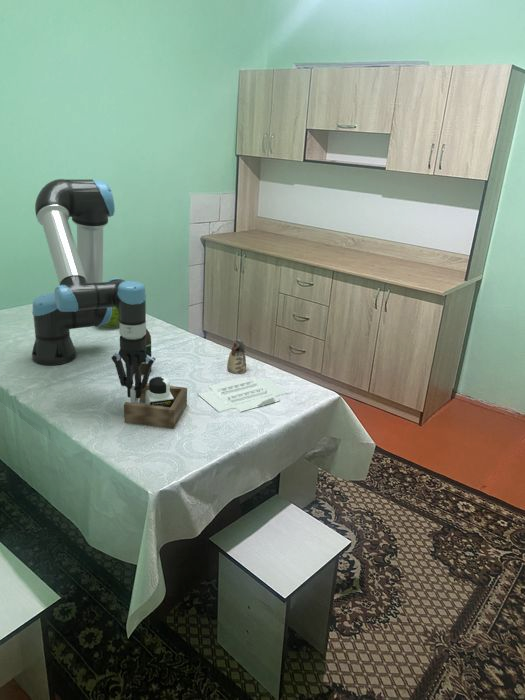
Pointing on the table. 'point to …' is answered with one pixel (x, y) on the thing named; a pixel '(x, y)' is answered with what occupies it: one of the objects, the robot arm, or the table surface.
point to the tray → (242, 394)
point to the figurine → (237, 358)
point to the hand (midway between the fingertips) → (134, 406)
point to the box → (157, 410)
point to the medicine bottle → (159, 392)
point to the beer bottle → (148, 348)
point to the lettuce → (114, 318)
